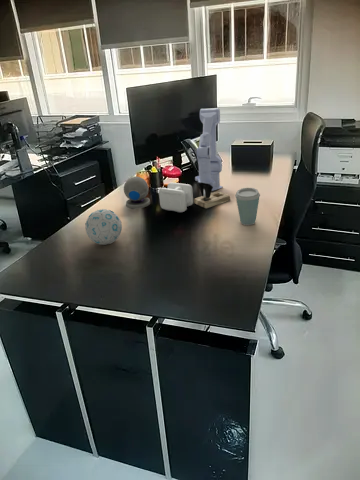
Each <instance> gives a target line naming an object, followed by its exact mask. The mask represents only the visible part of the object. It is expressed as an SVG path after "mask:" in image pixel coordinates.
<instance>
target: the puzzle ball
mask: <svg viewBox="0 0 360 480" xmlns="http://www.w3.org/2000/svg"><path fill="white" fill-rule="evenodd" d="M122 228H123V223H122V221H121V219H120V217H119V215H117V214H116V213H115V212H114V211H113V210H110V209H107V208H102V209H97V210H95V211H93V212H91V213H90V214H89V216H88V217H87V219H86V221H85V233H86V234H87V237H88V238H89V240H91V241H92V242H93V243H94V244H95V243H96V244H97V245H100V246H106V245H110V244H112V243H114V242H115V241H116V240H118V238H120V236H121V233H122Z"/></svg>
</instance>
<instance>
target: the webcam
mask: <svg viewBox="0 0 360 480" xmlns="http://www.w3.org/2000/svg"><path fill="white" fill-rule="evenodd" d="M123 192H124V195H125V197H126V198H127V200H126V202H125V206H126V208H128V209H143V208H145V207H148V206H149V205H150V204H151V199H150V198H149V197H147V196H148V193H149V184H148V183H147V181H146V180H145V178H142V177H140V176H132V177H129V178H128V179H127V180H126V181H125V183H124V184H123Z"/></svg>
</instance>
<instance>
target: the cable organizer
mask: <svg viewBox="0 0 360 480" xmlns="http://www.w3.org/2000/svg"><path fill="white" fill-rule="evenodd" d="M193 191H194V190H193V186H192V185H191V184H188V183H187V184H186V183H181V182H180V183H179V182H172V181H171V182H169V183H168V184H167V188H166V187H161V188H159V189H158V197H159V205H160V208H161V209H163V210H165V211H172V212H177V213H183V212H185V211H187V210H188V208H187V207H189V206H192V205H193V204H194V192H193Z"/></svg>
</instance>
